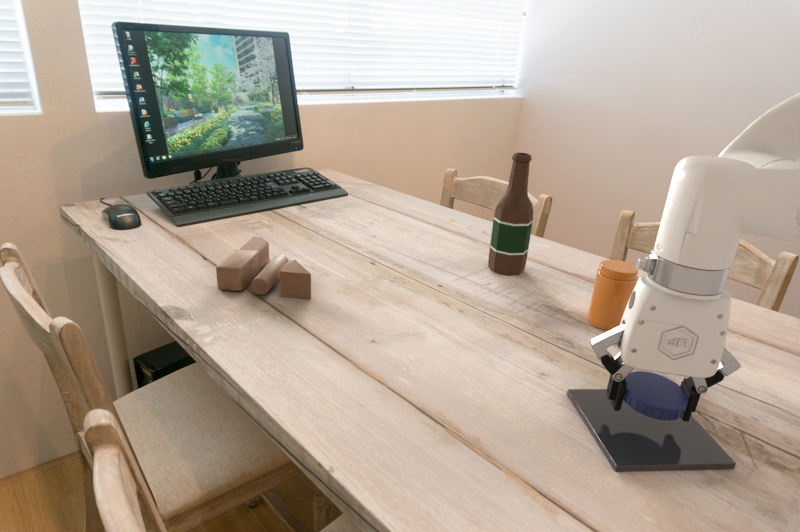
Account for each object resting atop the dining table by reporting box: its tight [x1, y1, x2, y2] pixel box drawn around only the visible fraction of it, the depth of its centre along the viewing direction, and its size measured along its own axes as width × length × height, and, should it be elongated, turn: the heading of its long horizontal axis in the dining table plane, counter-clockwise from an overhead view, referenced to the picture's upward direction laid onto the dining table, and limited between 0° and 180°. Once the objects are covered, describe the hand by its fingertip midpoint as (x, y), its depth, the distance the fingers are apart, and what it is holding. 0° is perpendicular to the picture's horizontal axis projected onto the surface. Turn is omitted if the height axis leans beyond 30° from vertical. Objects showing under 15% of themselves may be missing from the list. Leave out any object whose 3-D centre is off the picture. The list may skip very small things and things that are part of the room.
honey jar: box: [586, 259, 639, 331], centre depth 89 cm, size 6×6×10 cm
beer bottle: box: [487, 152, 534, 276], centre depth 106 cm, size 8×8×24 cm
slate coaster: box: [566, 388, 737, 472], centre depth 65 cm, size 14×14×1 cm
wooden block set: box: [215, 236, 312, 300], centre depth 99 cm, size 17×6×18 cm
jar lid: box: [623, 370, 688, 421], centre depth 62 cm, size 7×7×2 cm
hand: (647, 408), depth 64 cm, fingers closed on jar lid, 7 cm apart
